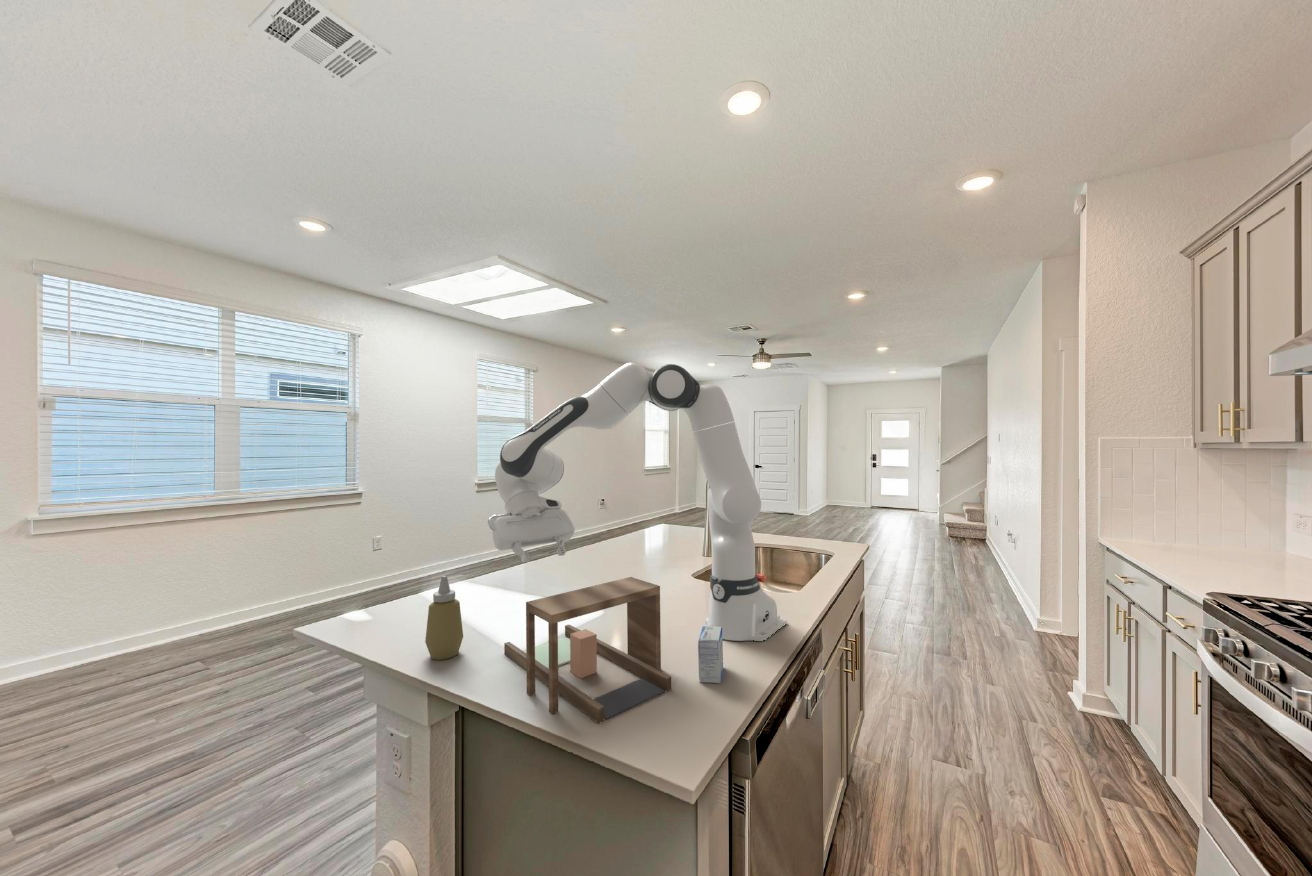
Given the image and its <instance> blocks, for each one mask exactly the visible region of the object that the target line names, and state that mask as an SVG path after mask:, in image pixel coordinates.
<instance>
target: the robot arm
mask: <svg viewBox="0 0 1312 876" xmlns="http://www.w3.org/2000/svg"><path fill="white" fill-rule="evenodd" d="M645 402H649V403H650V404H653V405H654V406H655V407H657V408H659V409H661V410H664V411H668V412H675V411H677V410H680V409H681V410H683V411H684V412H685V413H686V416H687V417H688V419H689V421H690V426H691V429H692V430H691V431H692V434H693V438H694V442H695V446H696V449H697V453H698V457H699V461H700V464H701V467H702V469H703V472H704V474H705V477H706V481H707V484H708V487H709V488H708V490H707V491H708V492H707V511H708V512H707V513H708V524H709V534H710V544H711V545H710V546H711V573H710V578H709V587H710V590H711V591H710V592H709V597H708V598H709V599H708V600H709V601H708V610H707V616H706V617H705V623H706V626H716V627H722V640H726V641H736V642H740V641H741V642H742V641H743V642H744V641H753V640H754V641H756V642H764V641H763V640H765V641H766V640H768V639H769V638H770V637H772V636H773V635H774V634H776V633H777V632H778V631H779V630H778V629H779V628H781V627H782V626H784V624H786V623H787V619H785V618H784V617H783V616H781V615H778V609H777V608H778V606H777V603H776V601H775V600H774V598H773V597H771V596H770V595H768V593H766V592H765V591H764V590H763V589H761V586H760V583H762V584H764V583H765V582H766V581H767V576H766V575H765V574H761V573H758V574H756V545H755V540H754V535H753V529H752V524H751V523H752V522H753V521H754V520H755V519H756V518H757V517H758V516H759V514H760V512H761V509H762V500H761V496H760V494H759V492H758V490H757V486H756V483H755V481H754V478H753V475H752V472H751V469H750V467H749V465H748V462H747V460H746V458H745V454H744V451H743V449H742V445H741V440H740V437H739V433H738V430H737V425H736V422H735V417H734V415H733V411H732V409H731V407H730V403H729V401H728V398H727V397H726V394H725V393H724V390H723V388H721V387H720V386H719V385H716V384H713V383H711V384H710V383H709V384H708V383H706V384H702V385H700V383H699V381H698V380H696V379H695V378H694V377H693V375H691V373H690V372H689V371H688V370H686V369H685V368H684V367H682V366H680V365H678V364H674V363H669V364H668V363H667V364H664V365H661V366H659V367H658V368H656V369H655V370H654V372H649V371H648V370H647V369H646V368H645V367H644V366H642V365H641V364H639V363H638V362H633V361H629V362H626V363H624V364H623V365H621V366H620V367H617V368H616V369H615V370H613V372H611V373H610V374H608V375H607V376H606V377H605V378H603V380H602V381H600V382H599V383H598V384H597V385H596V386H595V387H593V388H592V389H591V390H589V391H588V392H586V393H584V394H581V395H579V396H574V397H572V398H569V399H568V400H566V401H564V402H563V403H561V404H560V405H559V406H557V407H555V408H554V409H553V410H552V411H550V412H549V413H548V414H546V415H545V416H544V417H542V418H541V419H540V420H538V421H537V422H535V423H534V424H533V425H531V426H530V427H528V428H527V429H525V430H524V431H522V432H520V433H519V434H515V435H514V436H512V437H511V438H509V439H508V440H506V442H505V443H504V444H503V446H502V447H501V450H500V454H499V463H498V464H497V466H496V467H495V473H494V479H495V485H496V489H497V490H498V493H499V497H500V498H501V500H502V501H503V502H504V509H505V511H506V513H502V514H493V515H491V517H489V518H488V520H487V524H488V526H489V529H490V530H491V532H492V540H493V543H494V547H495V549H497V550H498V551H505V550H506V551H507V550H512V553H514V554H515V555H517V556H518V557H519V558H520V560H521V562H522V563H528V562H530V560H531V555H530V552H529V551H525V550H524V549H523V548H525V547H526V548H527V547H532V546H533V547H534V546H538V545H540V546H541V545H544V544H545V545H547V544H553V543H556V544H557V549H556V553H557V555H558V557H560V556H566V553H567V550H566V547H565V543H566V541H570V540H571V539H572V537H573V535H574V533H575V530H576V528H575V525H574V524H573V522H572V519H571V518H570V516H569V514H568V513H567V512H566V510H564V509H562V507H563V504H562V502H561V501H560V500H556V499H552V498H551V499H550V498H546V497H544V496H540V494H543V493H545V492H547V491H548V490H551V489H552V488H553V487H554V486H556V485H557V484H558V483H560V481H561V479H563V478H562V477H563V476H564V472H565V464H564V461H563V460H562V458H561V457H560V456H558V455H557V454H556V453H554V452H553V451H550V450H549V449H547V448H546V447H547V446H548V445H549V444H551V443H552V442H554V441H555V440H556V439H558V437H560V436H561V435H563V434H564V433H566V432H567V431H568V430H570V429H574V428H580V427H581V428H582V427H585V428H592V429H595V430H596V429H597V430H610V429H612V428H615V427H616V426H617V425H619V424H620V423H622V422H623V420H625V419H626V418H627V417H628V416H629V415H630V414H631V413H632V412H633V411H634V410H635V409H637V407H639V406H640V405H641V404H643V403H645ZM558 545H559V546H558ZM759 582H760V583H759ZM787 624H788V623H787ZM787 624H786V625H787ZM784 627H785V626H784ZM782 628H783V627H782ZM782 628H781V629H782ZM777 630H778V631H777ZM776 631H777V632H776ZM775 632H776V633H775ZM773 633H774V634H773ZM772 634H773V635H772ZM771 635H772V636H771ZM768 637H769V638H768ZM767 638H768V639H767Z"/></svg>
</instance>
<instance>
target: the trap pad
mask: <svg viewBox="0 0 1312 876" xmlns="http://www.w3.org/2000/svg"><path fill="white" fill-rule="evenodd" d="M665 693H666V691H665V690H663V689H661V688H660V687H658V686H656V685H654V684H652V683H650V682H649V681H647V680H645V679H643V678H641V677H640V678H639V679H637V680H635V681H632V682H630V683H627V684H625V685H623V686H620V687H618V688H616V689H613V690H611V691H609V692H606V693H604V694H601V695H599V696H597V697H594V698H593V699H594V700H595V701H597V702H598V703H600V704H601V705H603V706H604V721H605V720H606V721H607V720H609V719H611V718H614V717H616V716H619V715H620V714H623V713H624V712H627V711H629V710H630V709H632V708H636V707H637V706H640V705H642V704H644V703H646V702H647V701H650V700H652V699H654V698H656V697H658V696H659V697H660V696H661V695H663V694H665Z"/></svg>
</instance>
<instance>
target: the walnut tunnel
mask: <svg viewBox="0 0 1312 876" xmlns="http://www.w3.org/2000/svg"><path fill="white" fill-rule="evenodd" d="M624 604H626V613H627V615H626V617H627V620H626V622H627V623H626V624H627V625H626V629H627V634H626V635H627V653H626V652H625V651H622V650H620V649H618V648H616V647H614V646H612V645H610V644H608V643H606V642H604V641H602V640H600V639H599V638H597V655H600V656H602V657H603V658H606V659H607V660H609V661H611V662H613V663H614V664H616V665H618V666H620V667H621V668H624V669H625V670H627V671H629V672H630V673H632V674H634V675H636V676H638V677H640V679H641V678H643V679H645V680H647V681H649V682H650V683H652V684H654V685H656V686H658V687H660V688H661V689H663V690H665V692H669V691H671V690H672V676H671V675H669V674H667V673H665V672H663V671H662V670H661V669H662V657H661V656H662V655H661V654H662V648H661V644H662V643H661V641H662V639H661V638H662V637H661V634H662V633H661V585H658V584H656V583H655V584H654V583H651V582H649V581H645V580H641V579H638V578H635V577H633V576H629V577H624V578H620V579H617V580H612V581H608V582H604V583H601V584H600V583H599V584H595V585H592V586H588V587H584V588H579V589H575V590H570V591H566V592H561V593H558V594H554V595H549V596H545V597H541V598H537V599H533V600H529V601H528V600H527V601H526V602H525V626H526V627H525V631H526V633H525V636H526V637H525V641H526V642H525V644H526V646H525V647H526V649H525V650H526V653H525V652H524V651H523V650H522V649H521V648H519V647H518V646H517V645H515V644H513V643H512V642H510V641H508V642H504V646H503V647H504V648H503V650H504V656H506V657H508V658H509V659H510V660H511V661H513V662H514V663H516V664H517V665H518V666H520V667H521V668H522V669H524V670H525V671H526V694H527V695H529V696H532V695H535V694H536V679H537V680H539V681H540V682H542V683H543V684H544V685H545V686H547V687H548V712H549V713H550V712H551V713H550V714H551V715H554V714H557V713H559V696H560V697H562V698H563V699H564V700H566V701H567V702H569V703H570V704H571V705H572V706H574V707H575V706H576V707H575V708H576V709H578V710H580V711H581V712H582V713H583V714H585V715H586V716H588V717H589V718H590V719H592V721H594V722H596V723H597V724H601V723H603V722H605V719H604V706H603V705H601V704H600V703H598V702H597V701H595V700H594V698H592V697H591V696H590V695H588V694H587V693H585V692H584V691H582V690H581V689H579V688H578V687H576V686H575V685H573V684H572V683H571V682H569V681H567V680H566V679H565V678H563V677H562V676H560V675H559V666H558V640H559V632H558V630H559V629H558V628H559V623H560V622H561V623H562V622H564V621H567V620H572V619H576V618H578V617H581V616H586V615H588V614H592V613H596V612H600V611H604V610H606V609H610V608H614V607H617V606H621V605H624ZM535 617H538V618H540V619H542V620H543V621H545V622H547V623H548V625H547V626H548V628H547V629H548V643H549V668H547V667H546V666H544V665H543V664H541V663H540V662H538V661H537V660H535V647H536V638H535V637H536V635H535V634H536V625H535V623H536V621H535ZM578 631H581V629H580V628H577V627H575V626H573V625H571V624H566V625H564V636H565V637H567V638H568V639H570V634H572V633H575V632H578ZM600 722H601V723H600Z"/></svg>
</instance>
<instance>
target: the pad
mask: <svg viewBox="0 0 1312 876" xmlns="http://www.w3.org/2000/svg"><path fill="white" fill-rule="evenodd" d="M522 651H524V652H525V653H526V649H524V650H522ZM535 660H537V661H538V662H540V663H541V664H543V665H544V666H546V667H547V668H549V642H546V643H543V644H540V645H537V646H536V645H535ZM568 663H569V664H570V638H569V637H567V636H565V637H562V638H558V667H560V666H563V665H566V664H568Z"/></svg>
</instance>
